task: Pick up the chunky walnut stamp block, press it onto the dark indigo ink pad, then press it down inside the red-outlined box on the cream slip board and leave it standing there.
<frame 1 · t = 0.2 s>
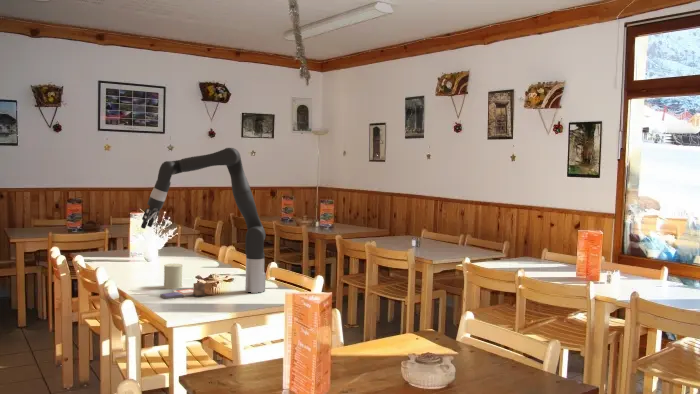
hand: (146, 227, 313), 31 cm above the table, tool tilted 20°, fingers open, 8 cm apart
can: (172, 287, 317), on the table
stamp: (198, 295, 300), on the table
ink pad: (172, 296, 295), on the table
print board: (187, 292, 306), on the table
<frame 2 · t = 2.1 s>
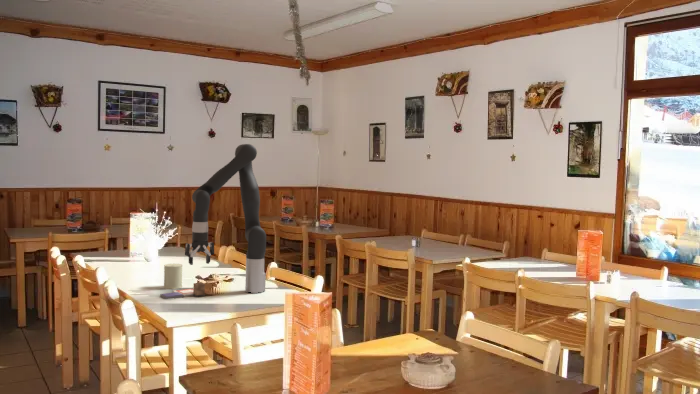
hand: (199, 264, 299), 16 cm above the table, tool pointing down, fingers open, 8 cm apart
nothing on the table moved.
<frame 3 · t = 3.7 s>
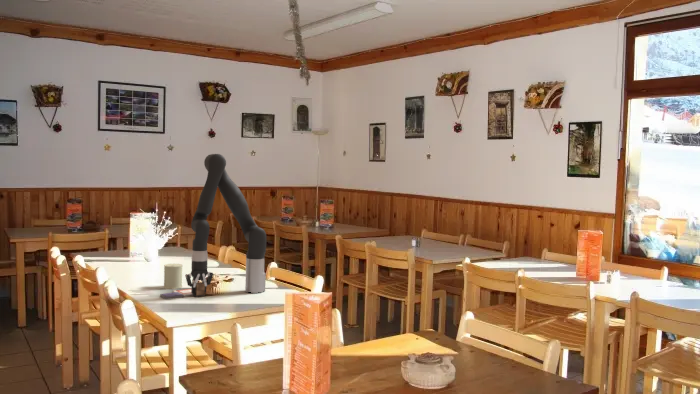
hand: (198, 294, 300), 1 cm above the table, tool pointing down, fingers open, 4 cm apart
stamp: (198, 295, 300), on the table, touching gripper
everything else where it was.
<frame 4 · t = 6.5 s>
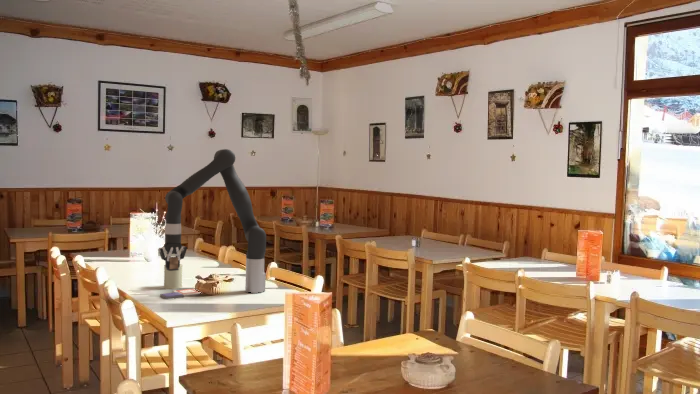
hand: (172, 268, 295), 14 cm above the table, tool pointing down, fingers closed on stamp, 4 cm apart
stamp: (172, 269, 295), point 13 cm above the table, touching gripper
everything else where it was.
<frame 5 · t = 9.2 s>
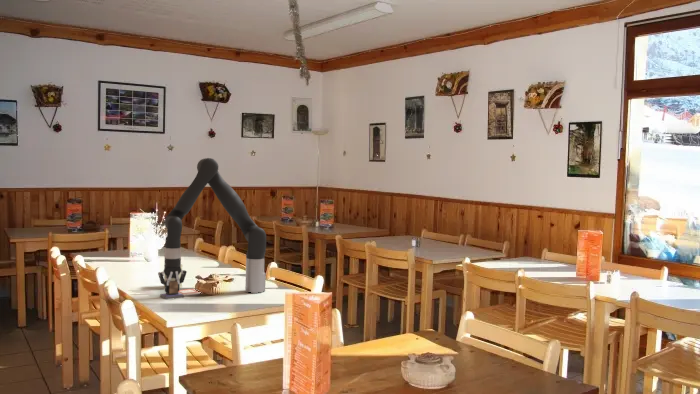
hand: (172, 292, 295), 2 cm above the table, tool pointing down, fingers closed on stamp, 4 cm apart
stamp: (172, 293, 295), point 1 cm above the table, touching gripper
everything else where it was.
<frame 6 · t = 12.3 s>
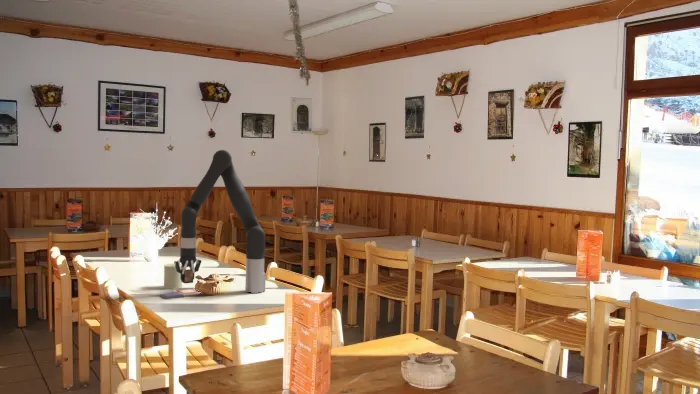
hand: (187, 280, 305), 6 cm above the table, tool pointing down, fingers closed on stamp, 4 cm apart
stamp: (187, 282, 305), point 5 cm above the table, touching gripper
everything else where it was.
when the fingers open (1 cm above the table, at t = 14.5 s): stamp stays where it is, resting on print board.
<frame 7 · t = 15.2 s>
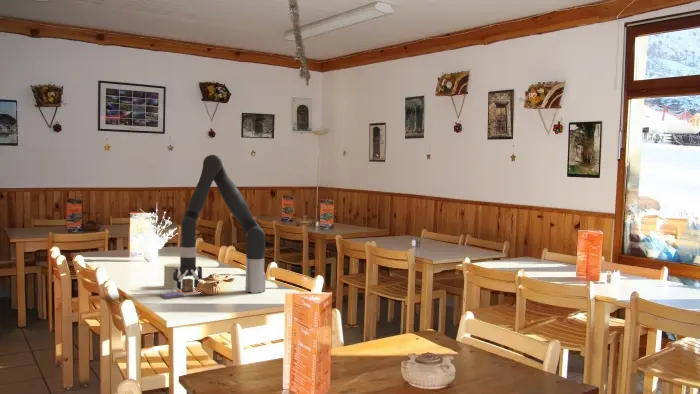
hand: (187, 288, 305), 2 cm above the table, tool pointing down, fingers open, 8 cm apart
stamp: (187, 291, 306), point 1 cm above the table, touching print board
everything else where it was.
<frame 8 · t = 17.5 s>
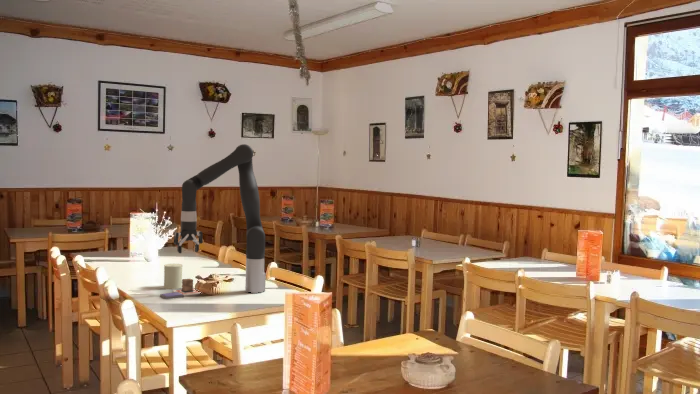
hand: (188, 252, 304), 20 cm above the table, tool pointing down, fingers open, 8 cm apart
nothing on the table moved.
at the end: stamp 0.1 cm off-centre on the print board, point 0.6 cm above the print board's base; stamp tilted 0°; the gripper is holding nothing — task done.
